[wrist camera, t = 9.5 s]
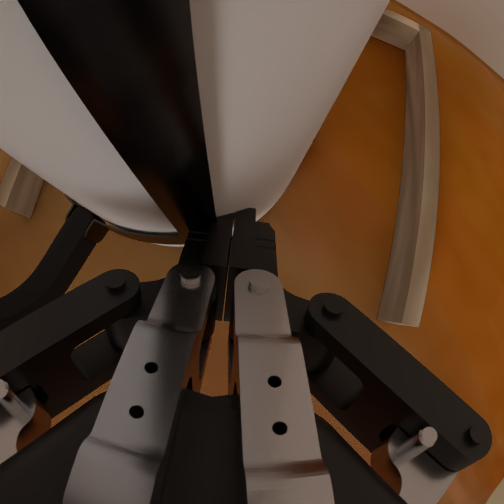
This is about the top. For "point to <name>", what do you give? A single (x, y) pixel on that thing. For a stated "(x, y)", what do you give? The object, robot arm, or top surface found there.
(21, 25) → the coffee press
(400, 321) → the birch stand
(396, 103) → the top surface
